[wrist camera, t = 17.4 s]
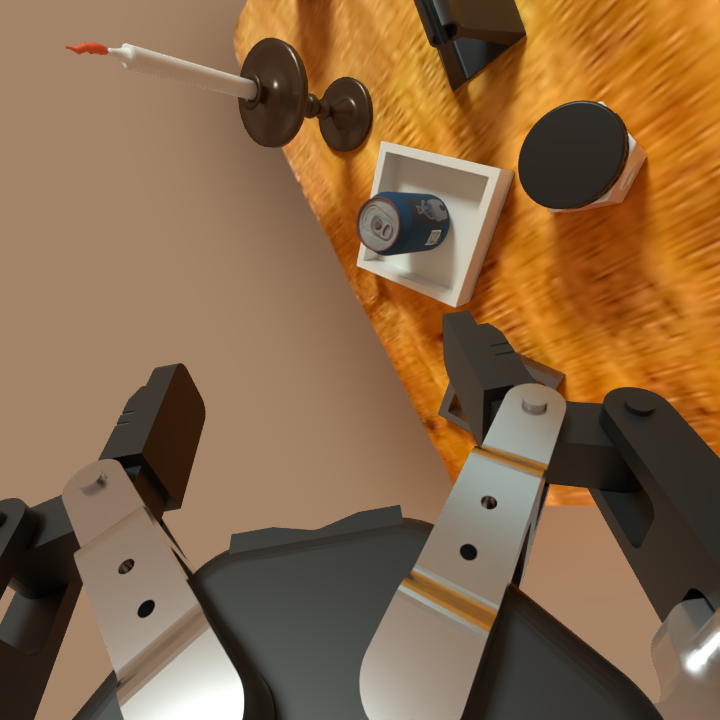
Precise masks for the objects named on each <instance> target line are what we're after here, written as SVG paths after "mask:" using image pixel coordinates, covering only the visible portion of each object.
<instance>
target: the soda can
mask: <svg viewBox="0 0 720 720" xmlns="http://www.w3.org/2000/svg"><path fill="white" fill-rule="evenodd" d="M449 226H450V216H449V212H448V209H447V207H446V205H445V204H444V202H443V201H442V200H441V199H440V198H438V197H437V196H435V195H431V194H421V193H405V192H389V191H386V192H381V193H378V194H376V195H375V196H373V197H372V198H371V199H369V200H367V201H366V202H365V203H364V204H363V205H362V207H361V208H360V210H359V213H358V216H357V233H358V236H359V238H360V240H361V242H362V243H363V245H364V246H365V247H367V248H368V249H370V250H372V251H374V252H375V253H377V254H379V255H383V256H392V255H399V254H406V253H414V252H421V251H429V250H432V249H434V248H436V247H438V246H439V245H440V244H441V243H442V242H443V241H444V239H445V238H446V236H447V233H448V231H449Z"/></svg>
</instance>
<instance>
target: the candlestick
mask: <svg viewBox="0 0 720 720" xmlns="http://www.w3.org/2000/svg"><path fill="white" fill-rule="evenodd" d="M65 47H66V48H67V49H71V50H72V51H74V52H76V53H78V54H81V53H84V52H86V51H87V52H88V53H90V54H93V53H96V54H100V55H107V53H108V54H109V56H112V57H115V58H117V59H118V60H120V61H122V63H123V65H124V67H125V68H126V69H129V70H133V71H137V72H141V73H145V74H149V75H153V76H157V77H161V78H165V79H169V80H173V81H177V82H181V83H185V84H189V85H193V86H197V87H201V88H205V89H209V90H213V91H217V92H222V93H225V94H229V95H234V96H237V97H238V101H239V110H240V114H241V118H242V121H243V124H244V127H245V129H246V130H247V132H248V134H249V135H250V137H251V138H252V139H253V140H254V141H255V142H257V143H258V144H259V145H262V146H264V147H271V148H279V147H283V146H285V145H286V144H288V143H289V142H290V141H291V140H293V139H294V137H295V136H296V134H297V133H298V132H299V130H300V128H301V126H302V123H303V121H304V117H306V118H309V119H311V118H314V117H315V116H317V118H318V119H319V126H320V131H321V134H322V136H323V138H324V140H325V142H326V143H327V144H328V145H329V146H330V147H331V148H333V149H335V150H337V151H344V152H347V151H351V150H354V149H356V148H357V147H358V146H359V145H360V144H361V143H362V142H363V141H364V140H365V138H366V136H367V134H368V132H369V130H370V127H371V122H372V115H373V107H372V101H371V97H370V94H369V92H368V90H367V88H366V87H365V86H364V85H363V84H362V83H361V82H360V81H358V80H356V79H354V78H350V77H342V78H339V79H337V80H336V81H334V82H333V83H332V84H331V85H330V86H329V87H328V89H327V90H326V91H325V93H324V96H323V98H322V99H320V100H318V98H317V97H316V96H315V95H314V94H311V93H308V80H307V75H306V70H305V67H304V64H303V62H302V59H301V58H300V56H299V54H298V52H297V51H296V50H295V49H294V48H293V47H292V46H291V45H290V44H288V43H286V42H284V41H282V40H279V39H276V38H265V39H263V40H261V41H259V42H258V43H257V44H256V45H254V46H253V48H252V49H251V50H250V52H249V53H248V55H247V57H246V59H245V61H244V64H243V67H242V70H241V75H240V77H238V76H235V75H231V74H228V73H225V72H221V71H218V70H215V69H211V68H208V67H204V66H201V65H197V64H194V63H191V62H187V61H184V60H181V59H177V58H174V57H170V56H167V55H163V54H160V53H157V52H153V51H150V50H146V49H143V48H140V47H136V46H132V45H129V44H126V43H125V44H123V46H122V48H121V49H112V48H109V49H108V51H107V48H106V47H105V46H103V45H101V44H98V43H83V44H81V45H78V46H71V47H70V46H65Z"/></svg>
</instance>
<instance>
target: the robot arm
mask: <svg viewBox="0 0 720 720" xmlns="http://www.w3.org/2000/svg"><path fill="white" fill-rule="evenodd" d="M443 349H444V362H445V367H446V371H447V374H448V376H449V379H450V381H451V384H452V386H453V388H454V391H455V393H456V395H457V398H458V400H459V402H460V405H461V407H462V409H463V412H464V414H465V416H466V419H467V421H468V424H469V426H470V428H471V431H472V433H473V435H474V438H475V440H476V442H477V445H478V446H475V447H474V448H473V449H472V451H471V452H470V454H469V456H468V458H467V460H466V462H465V464H464V466H463V468H462V470H461V472H460V474H459V476H458V479H457V481H456V483H455V485H454V487H453V489H452V491H451V493H450V495H449V497H448V499H447V501H446V503H445V505H444V507H443V509H442V511H441V513H440V515H439V517H438V519H437V522H436V524H435V525H433V524H431V523H428V522H425V521H421V520H416V519H411V518H402V513H401V508H400V505H396V506H391V507H385V508H380V509H374V510H368V511H362V512H358V513H355V514H353V515H351V516H348V517H346V518H344V519H341V520H339V521H337V522H334V523H332V524H330V525H327V526H325V527H323V528H320V529H317V530H302V529H289V528H275V527H272V528H266V529H261V530H255V531H250V532H244V533H238V534H232V536H231V542H230V548H229V550H227V551H224V552H223V553H221V554H219V555H217V556H215V557H214V558H213V559H211V560H210V561H208V562H207V563H205V564H204V565H203V566H202V567H201V568H199V569H198V570H197V571H196V570H195V569H194V567H193V565H192V564H191V562H190V561H189V559H188V557H187V556H186V554H185V553H184V551H183V549H182V548H181V546H180V545H179V543H178V541H177V540H176V538H175V537H174V535H173V533H172V532H171V530H170V528H169V527H168V525H167V524H166V522H165V521H164V520H163V519H162V516H163V512H164V511H169V510H176V509H180V508H181V505H182V502H183V498H184V494H185V491H186V487H187V483H188V479H189V476H190V472H191V469H192V465H193V461H194V458H195V454H196V450H197V447H198V443H199V440H200V436H201V432H202V429H203V425H204V421H205V406H204V402H203V400H202V397H201V396H200V394H199V392H198V390H197V388H196V386H195V384H194V382H193V380H192V378H191V376H190V374H189V372H188V370H187V368H186V367H185V366H184V365H183V364H182V363H179V364H173V365H168V366H162V367H157V368H155V369H154V371H153V372H152V375H151V376H150V379H149V381H148V383H147V385H146V386H143V387H141V388H140V389H139V390H138V391H137V392H136V393H135V394H134V395H133V396H132V397H131V398H130V399H129V400H128V402H127V404H126V406H125V408H124V410H123V412H122V413H123V415H121V416H120V418H119V420H118V422H117V426H115V428H114V430H113V432H112V434H111V436H110V438H109V440H108V442H107V444H106V446H105V448H104V450H103V452H102V453H101V455H100V457H99V460H98V461H96V462H94V463H91V464H89V465H87V466H86V467H84V468H83V469H81V470H80V471H78V472H77V473H76V474H75V475H74V476H73V477H72V478H71V479H70V480H69V481H68V483H67V484H66V486H65V488H64V489H63V492H62V495H60V496H58V497H55V498H53V499H50V500H48V501H46V502H43V503H41V504H39V505H36V506H34V507H31V508H30V507H29V506H27V505H26V504H25V503H24V502H23V501H22V500H20V499H17V498H10V499H5V500H2V501H0V599H1V597H2V595H3V593H4V591H5V589H6V587H7V586H9V587H10V588H11V589H13V590H14V591H16V593H15V595H14V597H13V599H12V601H11V603H10V605H9V607H8V609H7V612H6V614H5V616H4V618H3V620H2V622H1V624H0V720H34V718H35V715H36V713H37V710H38V707H39V704H40V702H41V699H42V696H43V693H44V691H45V688H46V685H47V682H48V680H49V677H50V674H51V671H52V669H53V666H54V663H55V660H56V657H57V655H58V652H59V649H60V646H61V644H62V641H63V638H64V635H65V633H66V630H67V627H68V624H69V621H70V619H71V616H72V613H73V610H74V608H75V605H76V602H77V599H78V597H79V594H80V591H81V588H82V585H83V584H84V587H85V590H86V593H87V595H88V598H89V600H90V604H91V606H92V609H93V612H94V614H95V617H96V620H97V623H98V626H99V629H100V631H101V634H102V637H103V640H104V643H105V645H106V648H107V651H108V654H109V657H110V659H111V662H112V665H113V668H114V670H113V671H112V672H111V673H110V675H109V676H108V677H107V678H106V679H105V681H104V682H103V683H102V684H101V685H100V687H99V688H98V689H97V690H96V691H95V693H94V694H93V695H92V696H91V698H90V699H89V700H88V701H87V702H86V704H85V705H84V706H83V707H82V708H81V710H80V711H79V712H78V713H77V714H76V716H75V717H74V718H73V719H72V720H720V458H719V457H718V456H717V455H716V454H715V453H714V452H713V451H712V450H711V448H710V447H709V446H708V445H707V444H706V443H705V442H704V441H703V440H702V439H701V437H700V436H699V435H698V434H697V433H696V432H695V431H694V430H693V429H692V427H691V426H690V425H689V424H688V423H687V422H686V421H685V420H684V419H683V418H682V416H681V415H680V414H679V413H678V412H677V411H676V410H675V409H674V408H673V407H672V405H671V404H670V403H669V402H668V401H667V400H665V399H664V398H663V397H661V396H659V395H658V394H656V393H653V392H651V391H648V390H645V389H641V388H634V387H623V388H617V389H614V390H612V391H610V392H609V393H608V394H607V395H606V396H605V398H604V401H603V404H599V403H581V402H569V401H565V400H564V398H563V397H562V395H561V394H560V393H558V392H557V391H556V390H554V389H552V388H550V387H548V386H544V385H540V384H537V383H536V382H535V380H534V379H533V377H532V376H531V375H530V373H529V372H528V370H527V369H526V367H525V366H524V364H523V363H522V361H521V360H520V358H519V357H518V355H517V354H516V353H515V352H514V349H513V348H512V346H511V345H510V344H509V343H508V341H507V339H506V338H505V336H504V335H503V333H502V332H501V331H500V330H498V329H497V328H495V327H494V326H492V325H490V324H489V323H486V324H481V325H477V323H476V322H475V320H474V318H473V317H472V315H471V314H470V312H469V311H468V310H466V311H461V312H455V313H450V314H444V315H443ZM551 484H557V485H566V486H575V487H584V488H588V490H589V492H590V493H591V495H592V497H593V499H594V501H595V502H596V504H597V506H598V508H599V509H600V511H601V513H602V515H603V517H604V519H605V521H606V522H607V524H608V526H609V528H610V530H611V531H612V533H613V535H614V537H615V538H616V540H617V542H618V544H619V546H620V548H621V549H622V551H623V553H624V555H625V557H626V559H627V560H628V562H629V564H630V565H631V567H632V569H633V571H634V573H635V575H636V577H637V578H638V580H639V582H640V584H641V586H642V587H643V589H644V591H645V593H646V595H647V596H648V598H649V600H650V602H651V604H652V605H653V607H654V609H655V611H656V613H657V615H658V616H659V618H660V620H661V622H662V625H661V626H660V628H659V629H658V631H657V632H656V634H655V635H654V637H653V640H652V644H651V656H652V661H653V663H654V666H655V669H656V672H657V675H658V678H659V682H660V690H661V695H660V702H659V703H655V704H653V703H652V702H651V701H650V700H649V698H648V697H647V696H646V695H645V694H644V693H643V691H642V690H641V689H640V688H639V687H638V686H637V685H636V684H635V683H634V682H632V680H631V679H629V678H628V677H627V676H626V675H625V674H624V673H622V672H621V671H620V670H619V669H618V668H616V667H615V666H614V665H612V664H611V663H610V662H609V661H608V660H606V659H605V658H604V657H603V656H602V655H600V654H599V653H598V652H597V651H595V650H594V649H593V648H592V647H590V646H589V645H588V644H587V643H585V642H584V641H583V640H582V639H580V638H579V637H578V636H577V635H576V634H574V633H573V632H572V631H571V630H569V629H568V628H567V627H566V626H564V625H563V624H562V623H561V622H559V621H558V620H557V619H555V618H554V617H553V616H552V615H551V614H550V613H548V612H547V611H546V610H545V609H543V608H542V607H541V606H540V605H538V604H537V603H536V602H535V601H533V600H532V599H531V598H529V596H527V595H526V594H525V593H524V592H522V591H521V590H520V588H521V585H522V582H523V578H524V575H525V572H526V568H527V564H528V561H529V556H530V552H531V549H532V545H533V541H534V537H535V534H536V531H537V528H538V524H539V521H540V518H541V515H542V511H543V508H544V505H545V501H546V498H547V495H548V492H549V488H550V485H551Z"/></svg>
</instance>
